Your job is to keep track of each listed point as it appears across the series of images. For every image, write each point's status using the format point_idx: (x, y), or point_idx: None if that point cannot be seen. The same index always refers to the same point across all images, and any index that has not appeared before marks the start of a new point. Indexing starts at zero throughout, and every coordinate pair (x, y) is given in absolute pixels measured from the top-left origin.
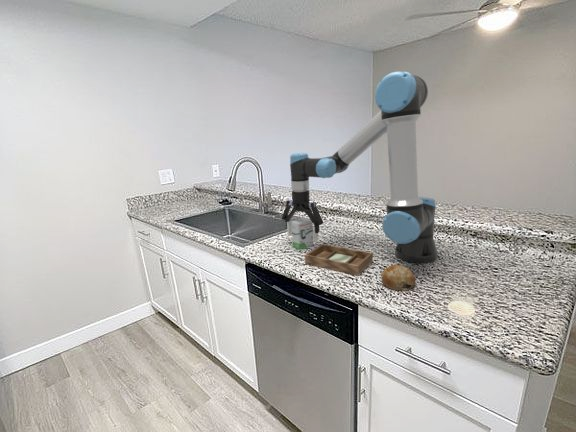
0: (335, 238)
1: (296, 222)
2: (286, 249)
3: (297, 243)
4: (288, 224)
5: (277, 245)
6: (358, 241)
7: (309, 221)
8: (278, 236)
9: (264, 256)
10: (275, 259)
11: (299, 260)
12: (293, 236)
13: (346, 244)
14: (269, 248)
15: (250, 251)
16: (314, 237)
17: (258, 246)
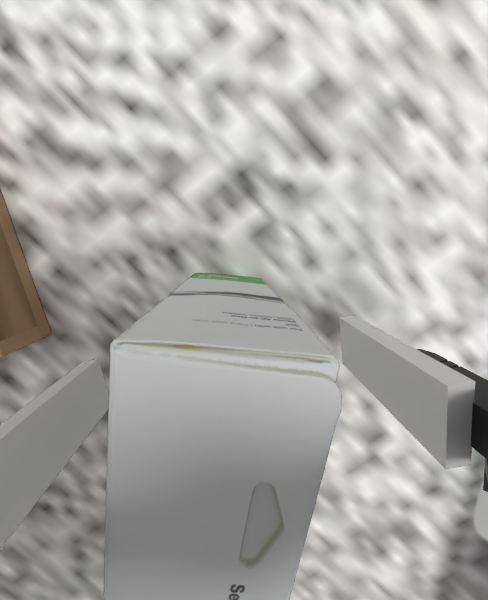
0: None
1: (217, 389)
2: (268, 223)
3: (207, 278)
4: (417, 370)
5: (369, 241)
6: (26, 556)
7: (104, 570)
8: (468, 361)
9: (304, 13)
10: (194, 21)
11: (47, 123)
12: (256, 290)
13: None
14: (380, 164)
15: (464, 23)
16: (65, 375)
17: (474, 143)
